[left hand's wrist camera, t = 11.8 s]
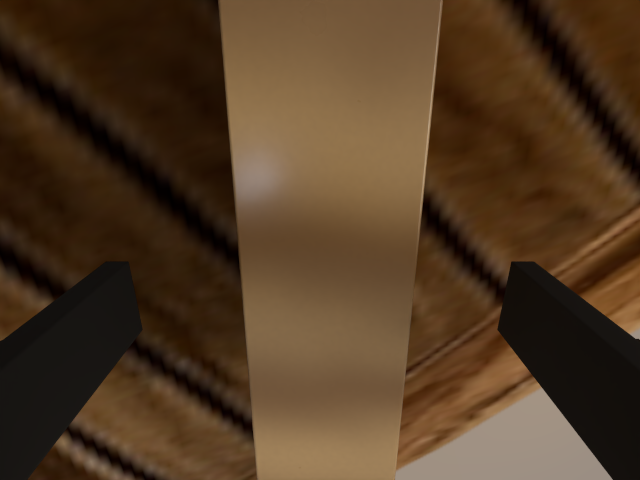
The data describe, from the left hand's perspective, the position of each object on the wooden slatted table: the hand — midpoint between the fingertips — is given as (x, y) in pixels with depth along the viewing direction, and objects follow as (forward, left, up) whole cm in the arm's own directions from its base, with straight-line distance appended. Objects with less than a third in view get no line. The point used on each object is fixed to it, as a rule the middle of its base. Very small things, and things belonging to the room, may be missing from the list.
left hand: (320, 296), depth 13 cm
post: (-14, +15, -6) cm, 22 cm away
